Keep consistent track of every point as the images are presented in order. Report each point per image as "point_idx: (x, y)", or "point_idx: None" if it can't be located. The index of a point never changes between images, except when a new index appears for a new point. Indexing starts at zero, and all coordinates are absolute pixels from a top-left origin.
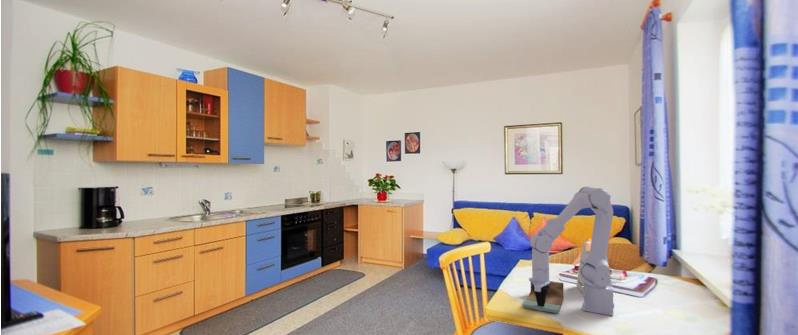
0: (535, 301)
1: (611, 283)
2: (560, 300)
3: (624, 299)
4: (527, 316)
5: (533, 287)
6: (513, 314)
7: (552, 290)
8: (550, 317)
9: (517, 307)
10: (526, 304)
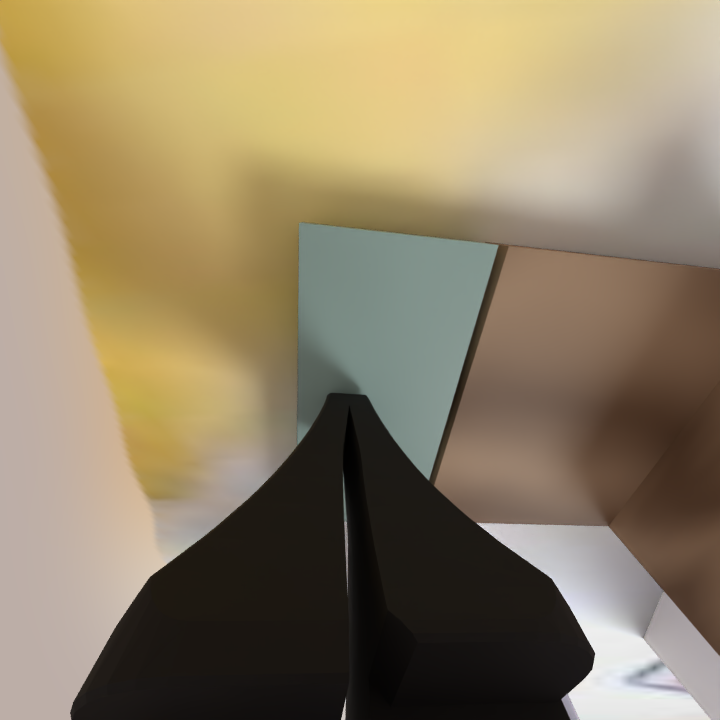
0: (457, 356)
1: None
2: (523, 516)
3: (604, 657)
4: (128, 290)
5: (86, 686)
6: (59, 111)
7: (695, 505)
8: (234, 452)
9: (322, 144)
10: (317, 270)
